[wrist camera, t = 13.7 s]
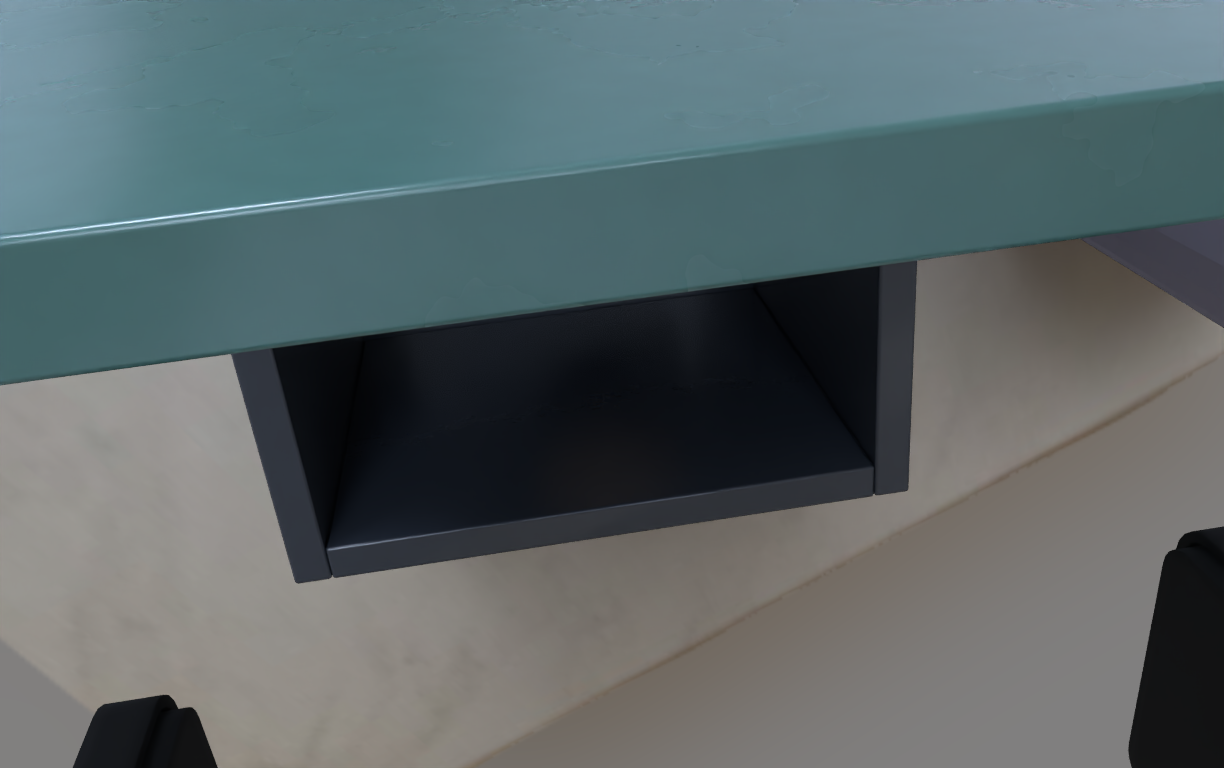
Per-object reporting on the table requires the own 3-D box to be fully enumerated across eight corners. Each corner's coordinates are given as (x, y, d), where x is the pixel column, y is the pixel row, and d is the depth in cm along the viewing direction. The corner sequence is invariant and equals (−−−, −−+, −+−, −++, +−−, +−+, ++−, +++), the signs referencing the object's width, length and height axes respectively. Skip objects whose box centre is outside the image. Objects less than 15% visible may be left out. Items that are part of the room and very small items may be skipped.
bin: (772, 297, 34) (909, 491, 24) (345, 355, 33) (295, 585, 23) (759, -154, 29) (934, -157, 18) (242, -100, 28) (110, -69, 17)
